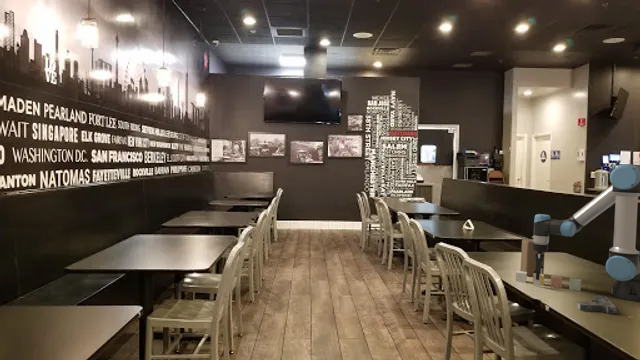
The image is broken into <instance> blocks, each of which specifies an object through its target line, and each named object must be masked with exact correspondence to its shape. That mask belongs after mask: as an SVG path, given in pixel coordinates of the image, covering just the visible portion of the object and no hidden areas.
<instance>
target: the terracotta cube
mask: <svg viewBox="0 0 640 360" xmlns="http://www.w3.org/2000/svg"><path fill="white" fill-rule="evenodd" d="M550 277H551V279H550V287H551V288H558V289H562V288H563V287H562V286H563V276H560V275H551V276H550Z"/></svg>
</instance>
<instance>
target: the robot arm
mask: <svg viewBox="0 0 640 360" xmlns="http://www.w3.org/2000/svg"><path fill="white" fill-rule="evenodd" d="M609 175H610V176H609V180H610V183H611V185H610V186H608V187H607V188H606V189H605V190H603V191H602V192H600V194H599V195H597V196H596V197H594V198H593V199H592V200H590V201H589V202H587V203H586V204H585V205H584V206H583V207H582V208H580V209H579V210H577V212H575V213H574V214H573V215H571V216H570V217H569V218H568V219H563V220H559V219H551V216H550V215H549V214H543V213H538V214H535V216H534V218H533V220H534V221H533V234H532V235H533V236H531V238H532V239H533V242H534V243H533V247H532V249H533V250H534V251H537V253H536V255H535V257H536V260H535V261H536V268H535V271H534V273H535V280H534V284H533V286H536V287H540V286H541V285H540V278H541V274H542V269H541V268H544V269H545V265H544V266H543V265H542V262H543V258H544V259H545V256H544V254H543V252H545V253H547V252H548V251H549V244H550V243H549V241H550V234H551V235H557V236H563V237H573V236H575V234H577V233H578V232H580V231H581V230H582V228H583V227H585V226H586V225H587V224H589V223H590V222H591V221H592V220H595V218H596V217H598V216H599V215H601V214H602V213H603V212H605V211H606V210H607V209H608V208H611V207H612V206H613V205H614V204H615V205H614V207H615V208H614V229H613V244H612V245H613V246H612V247H610V248H609V253H608V259H607V260H606V263H605V270H606V273H607V274H608V275H609V276H610V277H611V278H613V279H615V281H614V282H613V285H612V288H611V293H610V294H611V295H612V296H613V297H616V298H619V299H623V300H628V301H634V302H640V251H639V250H637V249H636V241H637V226H638V225H637V222H638V203H639V201H638V200H639V197H640V165H638V164H631V163H623V164H619V165H617V166H616V167H614V168H613V169H612V171H611V172H610V174H609Z"/></svg>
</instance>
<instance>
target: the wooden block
mask: <svg viewBox="0 0 640 360" xmlns="http://www.w3.org/2000/svg"><path fill="white" fill-rule="evenodd" d="M533 239H534V238H532V239H531V238H522V240H521V254H520V256H521V257H520V270H519V271H523V272H527V277H533V274H534V271H535V268H536V261H535V260H536V257H535V255H536V253H537V251H534V250H533V249H532V247H533V243H534V242H533ZM545 253H546V252H543V254H544V258H543V262H542V265H543V266H544V268H541V269H542V274H544V273H545V272H544V269H545ZM544 275H545V274H544Z"/></svg>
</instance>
